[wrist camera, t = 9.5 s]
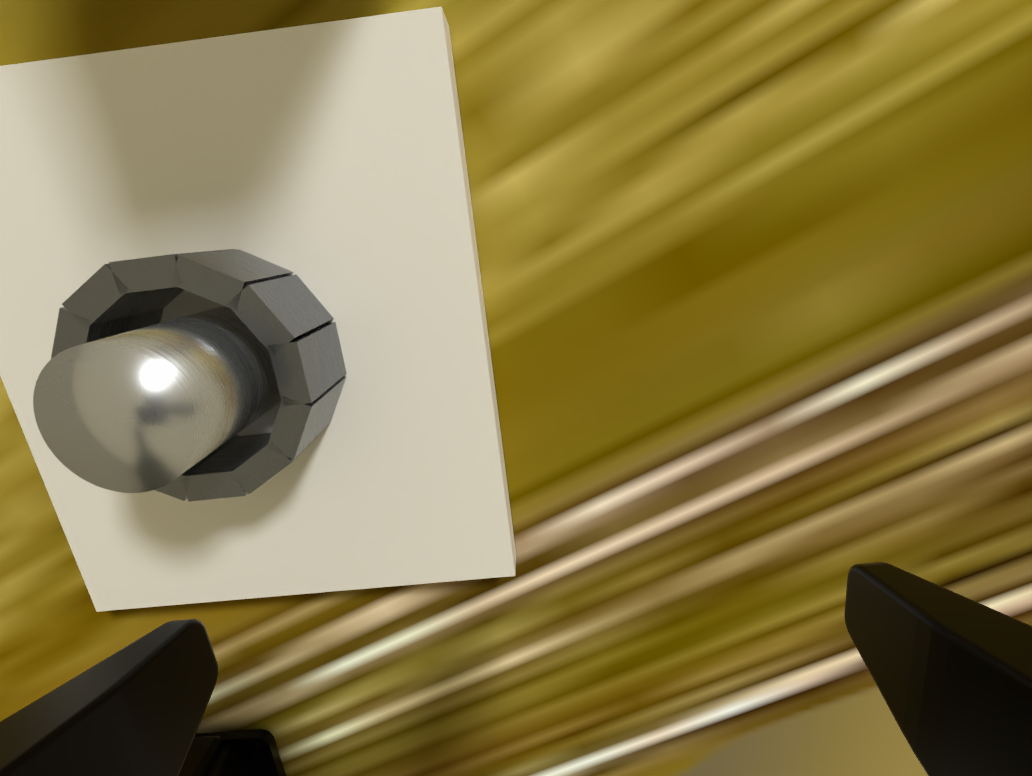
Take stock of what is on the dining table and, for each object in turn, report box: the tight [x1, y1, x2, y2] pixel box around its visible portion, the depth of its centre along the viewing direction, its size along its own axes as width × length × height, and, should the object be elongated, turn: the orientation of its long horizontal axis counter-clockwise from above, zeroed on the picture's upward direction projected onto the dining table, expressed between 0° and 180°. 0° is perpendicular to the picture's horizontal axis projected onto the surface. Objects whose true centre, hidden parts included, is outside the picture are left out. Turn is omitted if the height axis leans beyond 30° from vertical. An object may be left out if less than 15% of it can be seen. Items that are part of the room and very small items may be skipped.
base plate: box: [0, 7, 516, 612], centre depth 18 cm, size 18×16×2 cm
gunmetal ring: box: [51, 249, 347, 502], centre depth 16 cm, size 7×7×3 cm
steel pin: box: [33, 306, 282, 493], centre depth 15 cm, size 4×4×6 cm
